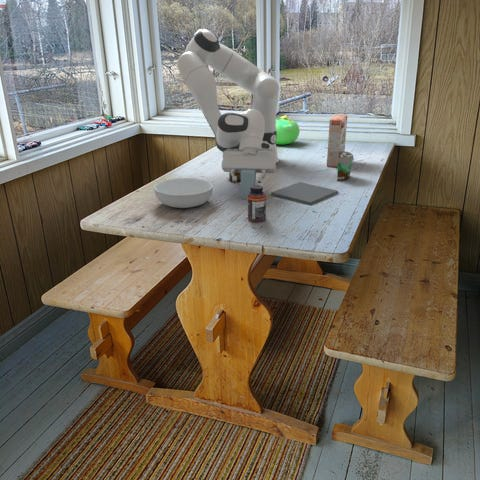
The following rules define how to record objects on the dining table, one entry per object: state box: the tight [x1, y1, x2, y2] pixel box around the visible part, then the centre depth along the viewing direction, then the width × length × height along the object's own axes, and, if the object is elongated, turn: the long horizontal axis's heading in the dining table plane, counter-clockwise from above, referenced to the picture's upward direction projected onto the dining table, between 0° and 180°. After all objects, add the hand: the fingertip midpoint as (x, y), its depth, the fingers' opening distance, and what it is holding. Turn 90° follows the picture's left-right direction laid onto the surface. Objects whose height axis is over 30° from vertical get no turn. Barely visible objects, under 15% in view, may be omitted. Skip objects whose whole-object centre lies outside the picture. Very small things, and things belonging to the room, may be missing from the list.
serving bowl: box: [153, 177, 214, 209], centre depth 181 cm, size 21×21×7 cm
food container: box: [336, 151, 355, 182], centre depth 207 cm, size 12×6×10 cm, turn 168°
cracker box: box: [326, 114, 348, 168], centre depth 227 cm, size 14×6×21 cm, turn 160°
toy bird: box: [276, 114, 300, 146], centre depth 267 cm, size 18×17×15 cm
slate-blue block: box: [240, 169, 257, 200], centre depth 187 cm, size 5×5×10 cm
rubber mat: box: [270, 181, 339, 206], centre depth 190 cm, size 18×18×1 cm
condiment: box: [225, 172, 241, 185], centre depth 206 cm, size 7×8×12 cm
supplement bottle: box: [247, 184, 267, 223], centre depth 164 cm, size 6×6×11 cm
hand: (247, 181), depth 185 cm, fingers open, 8 cm apart
